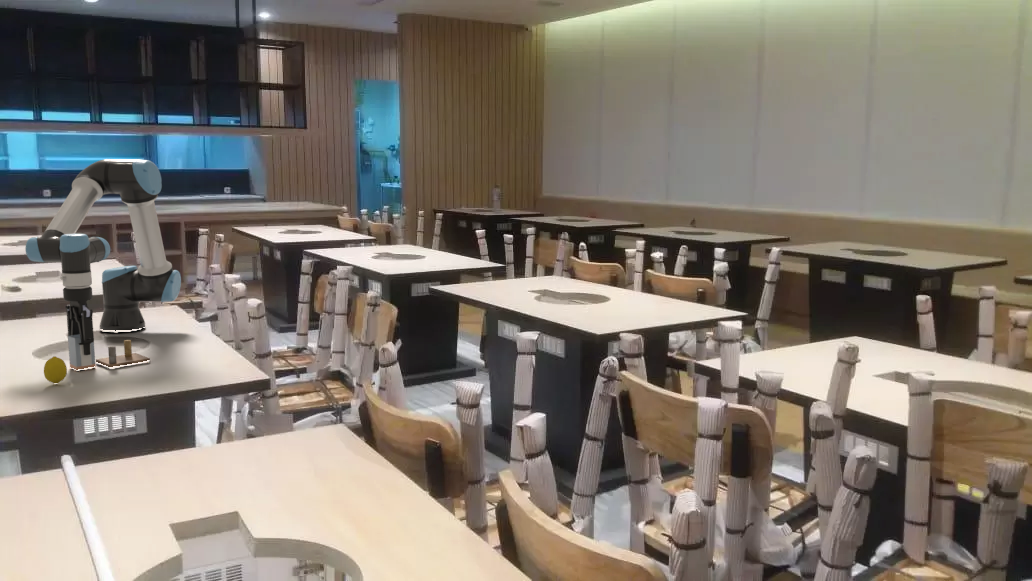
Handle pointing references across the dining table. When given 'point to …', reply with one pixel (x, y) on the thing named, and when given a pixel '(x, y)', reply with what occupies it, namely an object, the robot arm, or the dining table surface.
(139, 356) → the pin board
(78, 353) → the sleeve
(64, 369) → the lemon
